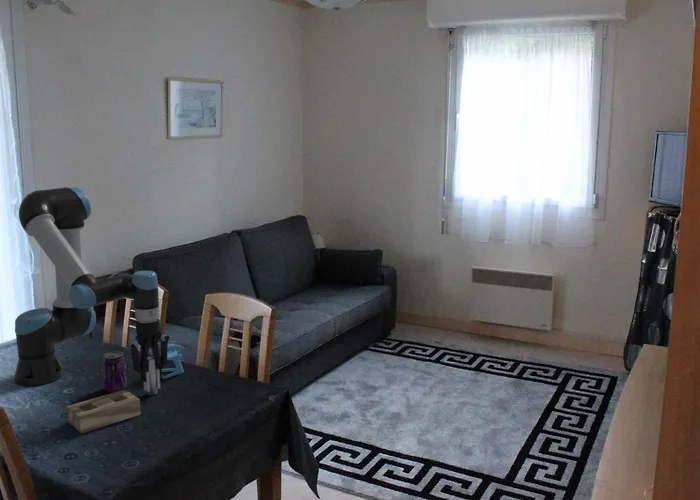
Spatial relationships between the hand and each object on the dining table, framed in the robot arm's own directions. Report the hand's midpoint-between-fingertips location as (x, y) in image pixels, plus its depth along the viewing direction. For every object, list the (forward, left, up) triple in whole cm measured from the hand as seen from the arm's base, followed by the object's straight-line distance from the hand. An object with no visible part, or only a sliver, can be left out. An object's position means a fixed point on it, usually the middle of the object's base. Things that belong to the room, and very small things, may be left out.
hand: (152, 388), depth 222 cm
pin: (0, 0, -2) cm, 2 cm away
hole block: (+7, -19, -2) cm, 20 cm away
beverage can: (-12, -7, -2) cm, 14 cm away
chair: (-12, +13, -2) cm, 18 cm away
